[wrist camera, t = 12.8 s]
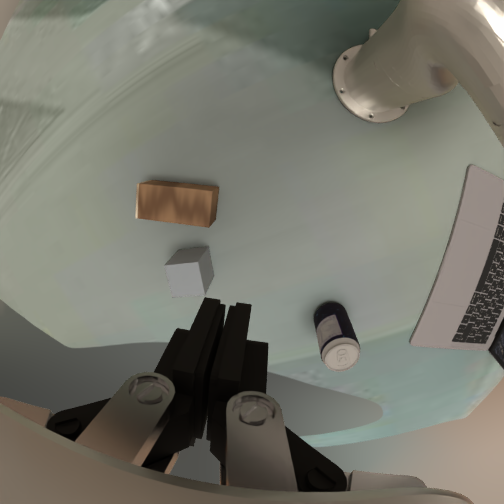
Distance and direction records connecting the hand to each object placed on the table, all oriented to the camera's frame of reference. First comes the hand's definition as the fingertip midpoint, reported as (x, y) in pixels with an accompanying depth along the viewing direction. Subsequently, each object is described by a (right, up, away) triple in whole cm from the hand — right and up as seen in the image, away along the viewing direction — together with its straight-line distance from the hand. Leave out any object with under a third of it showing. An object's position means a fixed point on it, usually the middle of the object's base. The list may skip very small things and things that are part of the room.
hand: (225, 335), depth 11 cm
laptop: (+46, -1, +35) cm, 58 cm away
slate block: (-8, +1, +37) cm, 38 cm away
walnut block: (-15, +11, +32) cm, 37 cm away
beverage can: (+14, -8, +39) cm, 42 cm away
